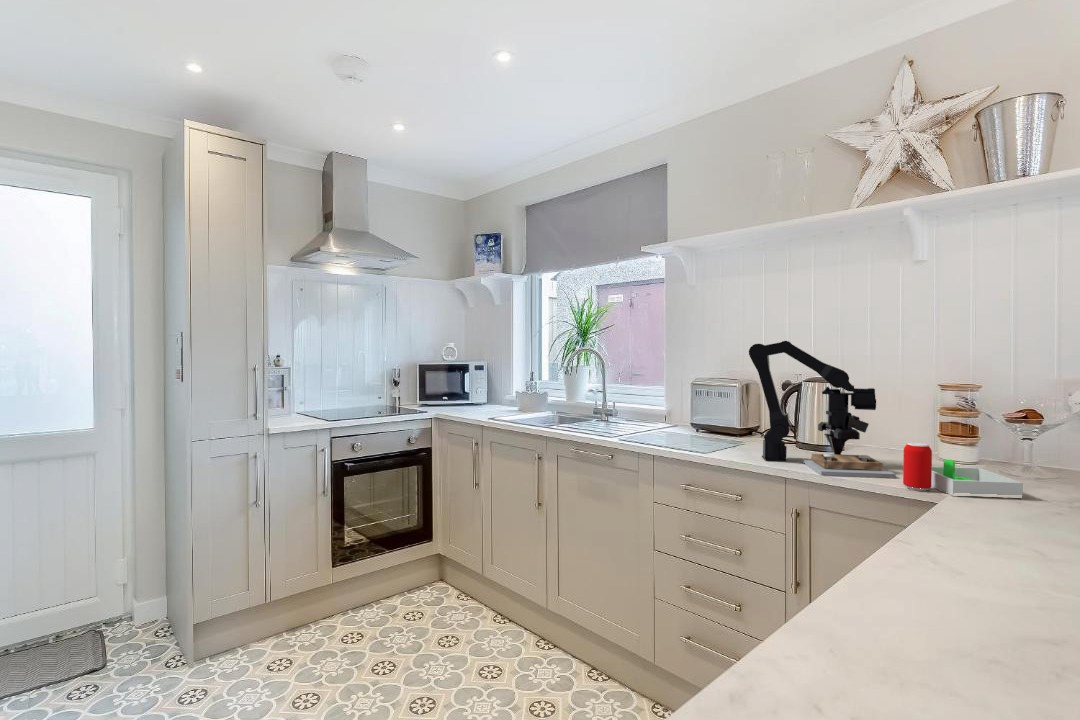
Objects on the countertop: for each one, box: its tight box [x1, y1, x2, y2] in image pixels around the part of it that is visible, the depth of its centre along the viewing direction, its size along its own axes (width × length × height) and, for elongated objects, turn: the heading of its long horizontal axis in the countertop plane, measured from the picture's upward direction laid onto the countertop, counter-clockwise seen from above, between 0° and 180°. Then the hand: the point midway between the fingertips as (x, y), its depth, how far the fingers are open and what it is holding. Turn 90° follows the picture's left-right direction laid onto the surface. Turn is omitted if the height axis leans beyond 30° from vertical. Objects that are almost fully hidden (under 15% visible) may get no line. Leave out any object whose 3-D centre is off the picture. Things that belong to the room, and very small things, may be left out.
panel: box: [811, 453, 884, 470], centre depth 170 cm, size 16×12×2 cm
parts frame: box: [931, 466, 1024, 496], centre depth 146 cm, size 16×17×4 cm
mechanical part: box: [942, 458, 975, 481], centre depth 148 cm, size 12×6×8 cm, turn 138°
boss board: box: [802, 453, 897, 479], centre depth 169 cm, size 20×18×4 cm
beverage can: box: [902, 442, 933, 492], centre depth 147 cm, size 6×6×12 cm
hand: (837, 457), depth 176 cm, fingers closed
